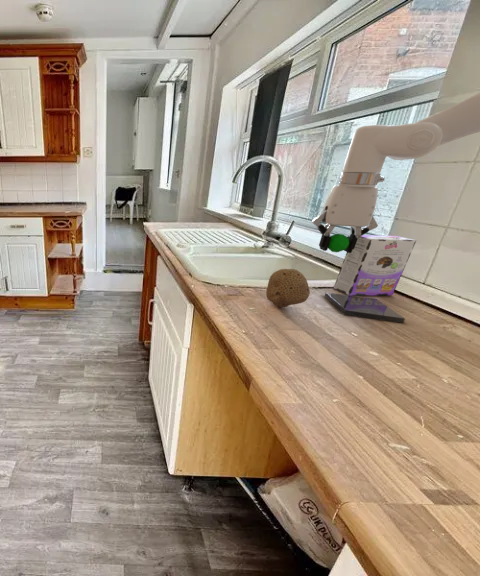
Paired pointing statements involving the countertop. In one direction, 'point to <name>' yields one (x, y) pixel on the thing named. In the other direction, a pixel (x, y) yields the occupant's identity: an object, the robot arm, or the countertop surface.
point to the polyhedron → (338, 243)
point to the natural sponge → (287, 288)
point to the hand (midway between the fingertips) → (335, 250)
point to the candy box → (374, 265)
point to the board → (363, 307)
